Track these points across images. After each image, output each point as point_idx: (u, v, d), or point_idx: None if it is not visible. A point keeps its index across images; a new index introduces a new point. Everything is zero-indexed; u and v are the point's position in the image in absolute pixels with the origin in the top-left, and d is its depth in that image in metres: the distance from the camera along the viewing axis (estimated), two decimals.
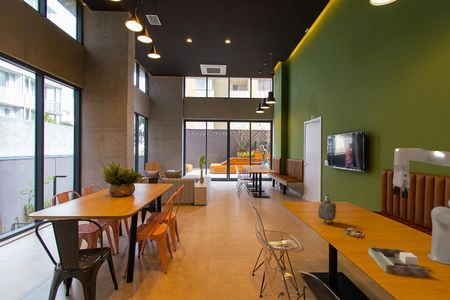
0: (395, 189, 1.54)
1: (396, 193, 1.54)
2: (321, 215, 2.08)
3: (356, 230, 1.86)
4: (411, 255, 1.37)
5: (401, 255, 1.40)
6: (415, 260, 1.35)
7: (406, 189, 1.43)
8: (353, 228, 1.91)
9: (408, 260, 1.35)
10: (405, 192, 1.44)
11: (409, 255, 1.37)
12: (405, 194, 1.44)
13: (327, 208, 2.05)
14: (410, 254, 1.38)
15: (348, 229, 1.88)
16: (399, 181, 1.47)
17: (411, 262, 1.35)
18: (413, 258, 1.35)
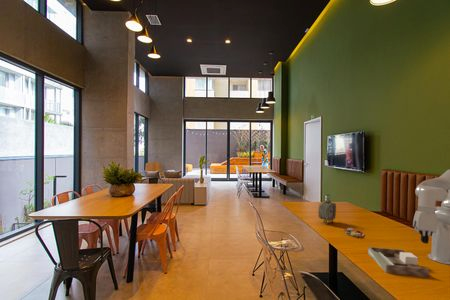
0: None
1: None
2: (321, 215, 2.08)
3: (356, 230, 1.86)
4: (411, 255, 1.37)
5: (401, 255, 1.40)
6: (415, 260, 1.35)
7: None
8: (353, 228, 1.91)
9: (408, 260, 1.35)
10: None
11: (409, 255, 1.37)
12: None
13: (327, 208, 2.05)
14: (410, 254, 1.38)
15: (348, 229, 1.88)
16: (434, 225, 1.33)
17: (411, 262, 1.35)
18: (413, 258, 1.35)
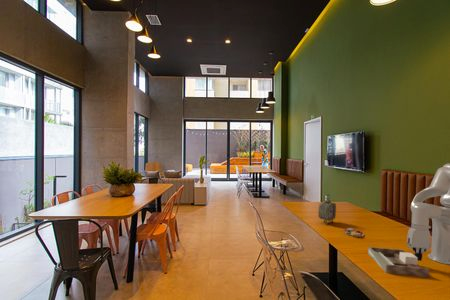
0: None
1: None
2: (321, 215, 2.08)
3: (356, 230, 1.86)
4: (411, 255, 1.37)
5: (401, 255, 1.40)
6: (415, 260, 1.35)
7: None
8: (353, 228, 1.91)
9: (408, 260, 1.35)
10: None
11: (409, 255, 1.37)
12: None
13: (327, 208, 2.05)
14: (410, 254, 1.38)
15: (348, 229, 1.88)
16: (428, 242, 1.34)
17: (411, 262, 1.35)
18: (413, 258, 1.35)
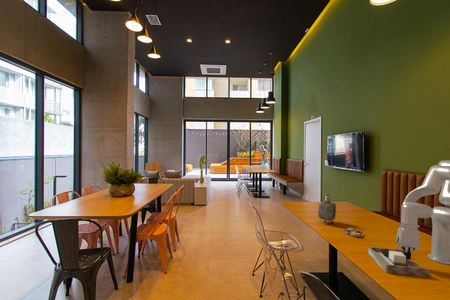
0: None
1: None
2: (321, 215, 2.08)
3: (356, 230, 1.86)
4: (400, 254, 1.38)
5: (390, 254, 1.41)
6: (403, 259, 1.36)
7: None
8: (353, 228, 1.91)
9: (396, 259, 1.37)
10: None
11: (398, 253, 1.39)
12: None
13: (327, 208, 2.05)
14: (399, 253, 1.40)
15: (348, 229, 1.88)
16: (416, 241, 1.35)
17: (399, 261, 1.36)
18: (401, 257, 1.36)
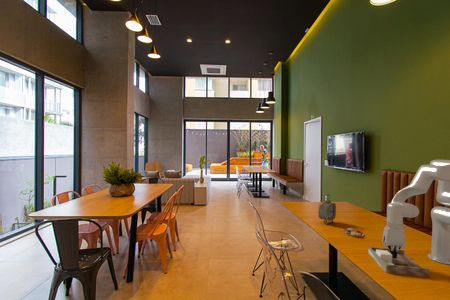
0: None
1: None
2: (321, 215, 2.08)
3: (356, 230, 1.86)
4: (386, 252, 1.40)
5: (377, 252, 1.42)
6: (390, 257, 1.37)
7: (398, 248, 1.39)
8: (353, 228, 1.91)
9: (383, 258, 1.38)
10: None
11: (384, 252, 1.40)
12: None
13: (327, 208, 2.05)
14: (386, 251, 1.41)
15: (348, 229, 1.88)
16: (402, 240, 1.36)
17: (386, 259, 1.38)
18: (388, 255, 1.37)
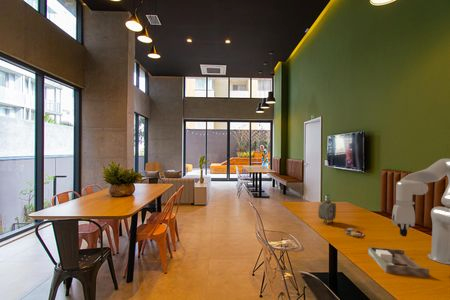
0: None
1: None
2: (321, 215, 2.08)
3: (356, 230, 1.86)
4: (386, 252, 1.40)
5: (377, 252, 1.42)
6: (390, 257, 1.37)
7: None
8: (353, 228, 1.91)
9: (383, 258, 1.38)
10: None
11: (384, 252, 1.40)
12: None
13: (327, 208, 2.05)
14: (386, 251, 1.41)
15: (348, 229, 1.88)
16: (412, 218, 1.36)
17: (386, 259, 1.38)
18: (388, 255, 1.37)
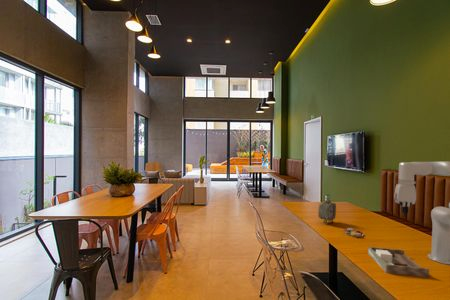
0: None
1: None
2: (321, 215, 2.08)
3: (356, 230, 1.86)
4: (386, 252, 1.40)
5: (377, 252, 1.42)
6: (390, 257, 1.37)
7: (409, 204, 1.47)
8: (353, 228, 1.91)
9: (383, 258, 1.38)
10: None
11: (384, 252, 1.40)
12: None
13: (327, 208, 2.05)
14: (386, 251, 1.41)
15: (348, 229, 1.88)
16: (413, 196, 1.45)
17: (386, 259, 1.38)
18: (388, 255, 1.37)
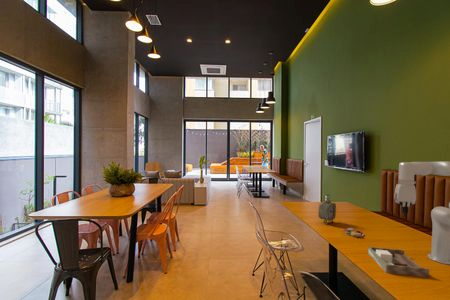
0: None
1: None
2: (321, 215, 2.08)
3: (356, 230, 1.86)
4: (386, 252, 1.40)
5: (377, 252, 1.42)
6: (390, 257, 1.37)
7: (409, 204, 1.47)
8: (353, 228, 1.91)
9: (383, 258, 1.38)
10: None
11: (384, 252, 1.40)
12: None
13: (327, 208, 2.05)
14: (386, 251, 1.41)
15: (348, 229, 1.88)
16: (413, 196, 1.45)
17: (386, 259, 1.38)
18: (388, 255, 1.37)
